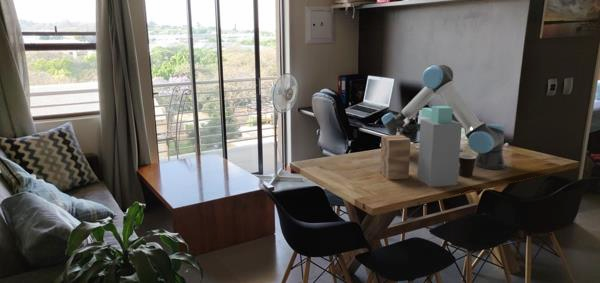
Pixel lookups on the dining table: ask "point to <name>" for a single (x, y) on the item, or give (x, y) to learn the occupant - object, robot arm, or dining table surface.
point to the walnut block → (395, 156)
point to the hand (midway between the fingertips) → (419, 119)
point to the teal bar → (438, 114)
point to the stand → (439, 153)
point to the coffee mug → (466, 165)
